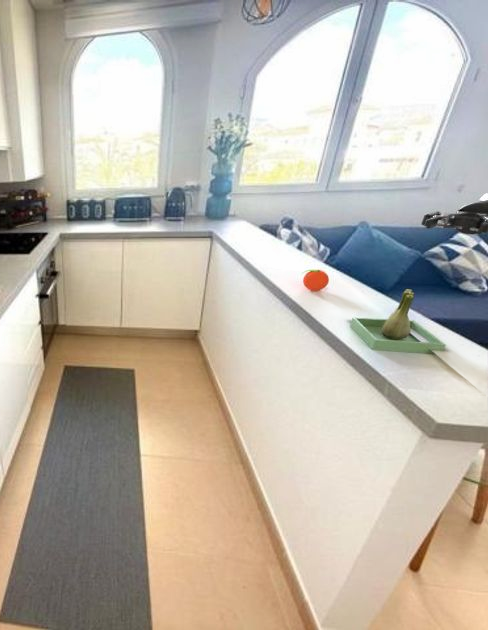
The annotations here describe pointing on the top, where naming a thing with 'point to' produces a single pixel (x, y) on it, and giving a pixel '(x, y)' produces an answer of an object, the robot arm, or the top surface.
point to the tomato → (315, 280)
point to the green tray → (377, 341)
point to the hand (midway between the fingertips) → (454, 226)
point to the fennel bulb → (399, 319)
